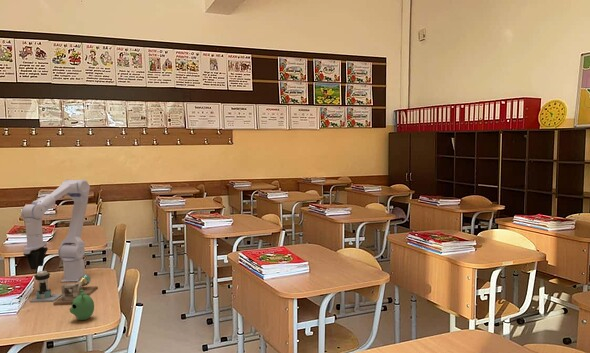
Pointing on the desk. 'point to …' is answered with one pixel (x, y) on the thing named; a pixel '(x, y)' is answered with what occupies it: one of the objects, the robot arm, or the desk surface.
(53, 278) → the desk surface
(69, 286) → the bracket
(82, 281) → the shaft
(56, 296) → the pad
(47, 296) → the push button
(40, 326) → the desk surface
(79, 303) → the alien toy
